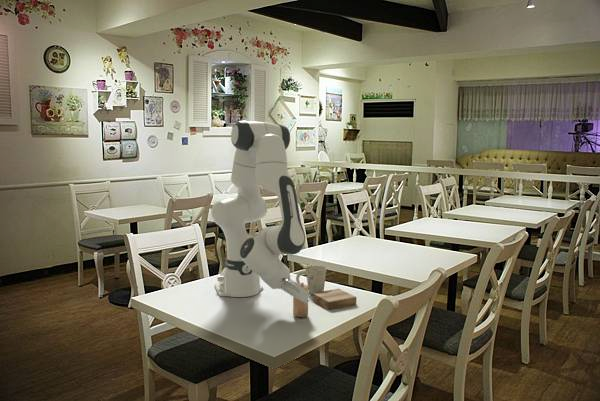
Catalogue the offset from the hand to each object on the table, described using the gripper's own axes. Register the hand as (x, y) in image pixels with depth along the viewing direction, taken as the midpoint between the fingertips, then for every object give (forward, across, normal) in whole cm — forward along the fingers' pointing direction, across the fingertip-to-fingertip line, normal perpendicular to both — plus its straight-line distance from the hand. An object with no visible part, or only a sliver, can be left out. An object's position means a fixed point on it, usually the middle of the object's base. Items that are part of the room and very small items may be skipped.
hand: (302, 299), depth 175 cm
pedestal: (+17, +7, -8) cm, 20 cm away
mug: (+16, +23, -7) cm, 29 cm away
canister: (+3, 0, +4) cm, 5 cm away
